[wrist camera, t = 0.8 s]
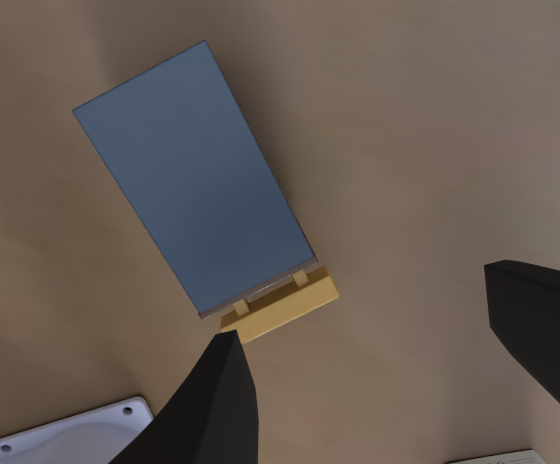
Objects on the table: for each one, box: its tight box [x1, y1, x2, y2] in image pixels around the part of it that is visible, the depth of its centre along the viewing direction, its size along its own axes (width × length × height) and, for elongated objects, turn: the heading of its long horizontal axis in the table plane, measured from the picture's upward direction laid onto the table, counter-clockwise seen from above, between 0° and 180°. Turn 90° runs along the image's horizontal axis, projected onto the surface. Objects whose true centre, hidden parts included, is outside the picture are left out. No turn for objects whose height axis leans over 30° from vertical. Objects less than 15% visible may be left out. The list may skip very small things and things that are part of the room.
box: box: [72, 40, 340, 345], centre depth 18 cm, size 12×6×6 cm, turn 26°
